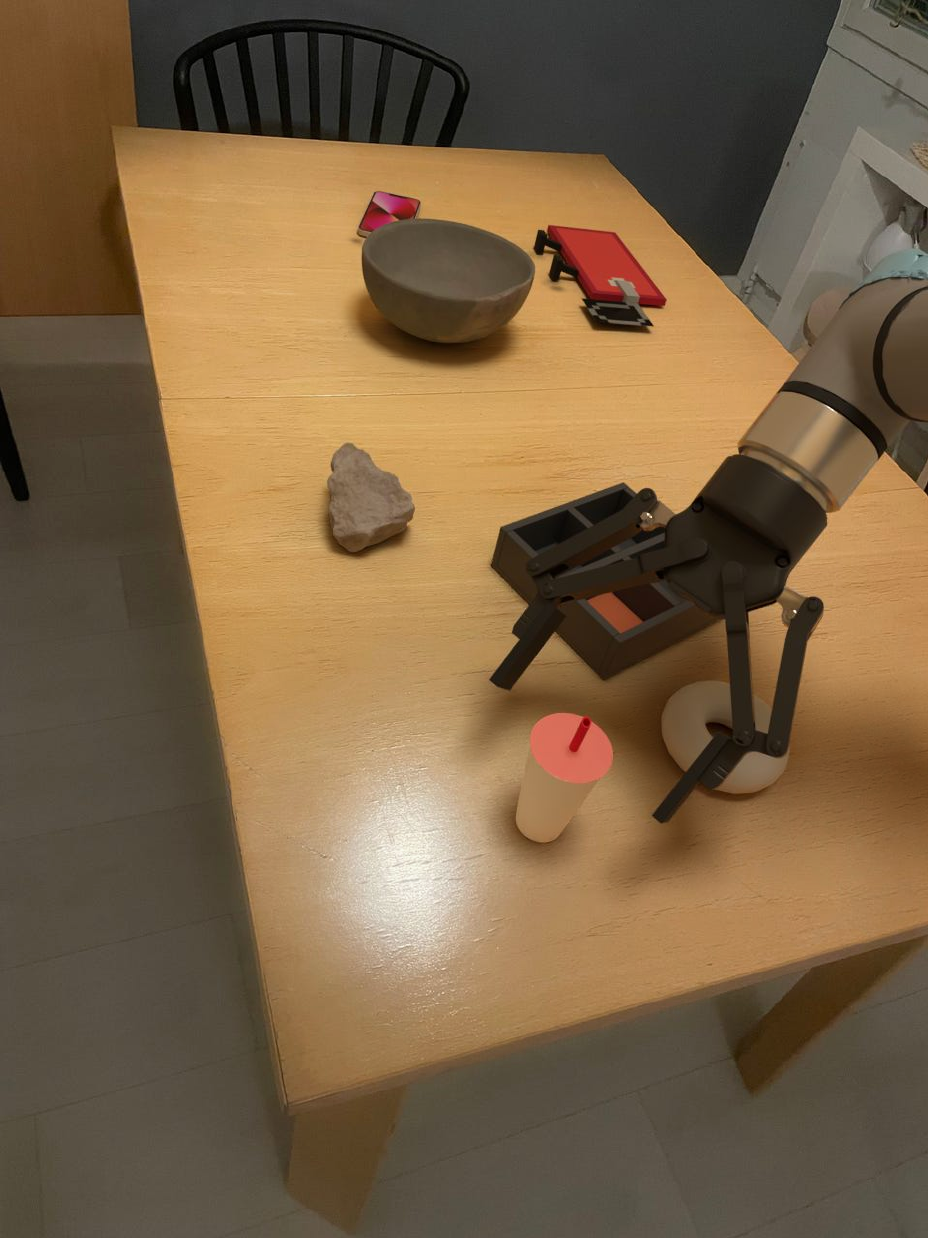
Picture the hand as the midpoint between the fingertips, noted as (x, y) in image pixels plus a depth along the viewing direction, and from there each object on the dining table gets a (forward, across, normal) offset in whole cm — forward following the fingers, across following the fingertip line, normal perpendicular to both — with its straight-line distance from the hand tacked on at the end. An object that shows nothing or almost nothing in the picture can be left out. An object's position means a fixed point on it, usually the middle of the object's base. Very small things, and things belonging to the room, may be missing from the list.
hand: (575, 749), depth 57 cm
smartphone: (-36, +80, -47) cm, 100 cm away
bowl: (-25, +53, -36) cm, 69 cm away
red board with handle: (-47, +52, -58) cm, 91 cm away
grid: (-10, +11, -21) cm, 26 cm away
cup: (+6, 0, -5) cm, 8 cm away
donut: (-5, -5, -16) cm, 18 cm away
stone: (-2, +31, -13) cm, 34 cm away
